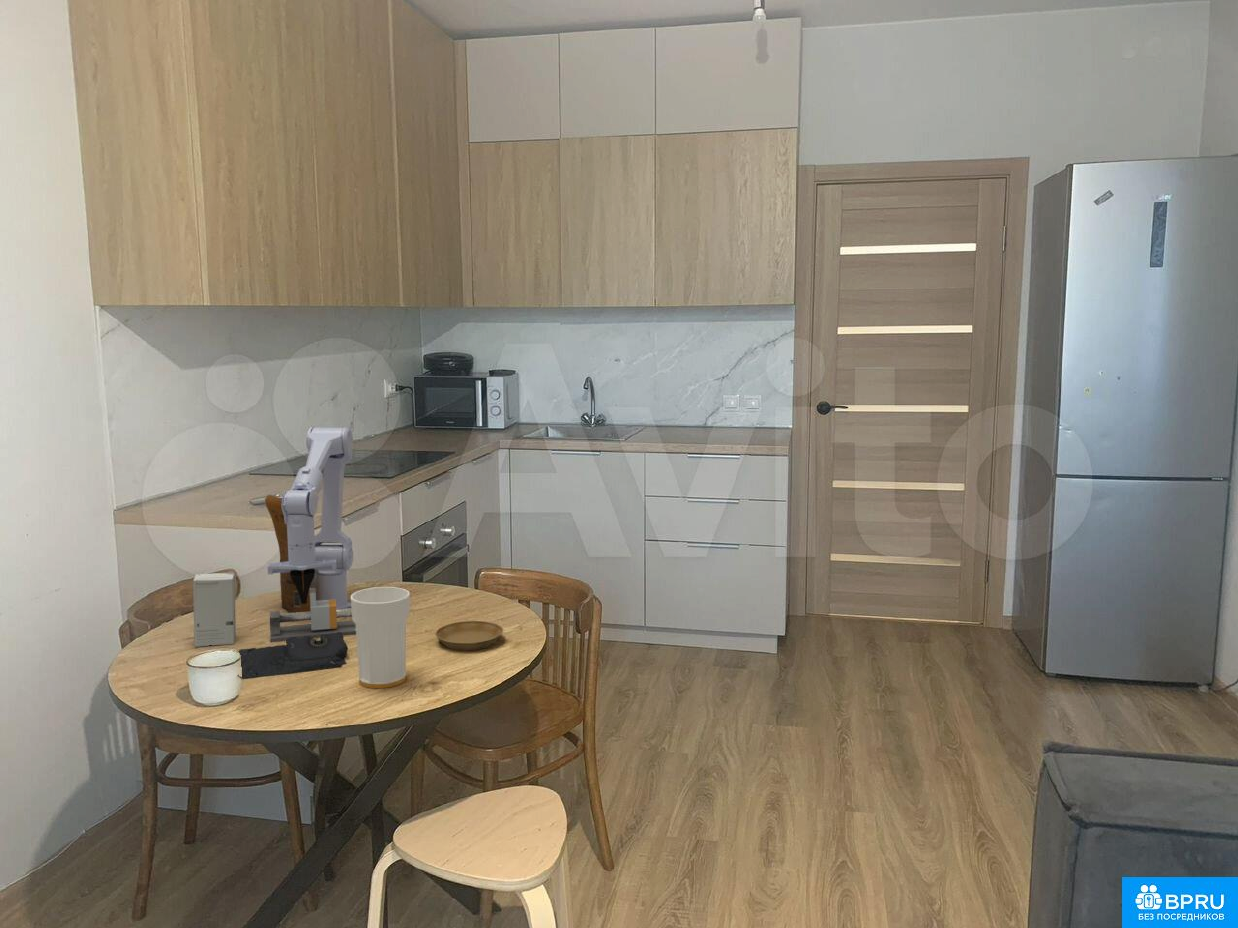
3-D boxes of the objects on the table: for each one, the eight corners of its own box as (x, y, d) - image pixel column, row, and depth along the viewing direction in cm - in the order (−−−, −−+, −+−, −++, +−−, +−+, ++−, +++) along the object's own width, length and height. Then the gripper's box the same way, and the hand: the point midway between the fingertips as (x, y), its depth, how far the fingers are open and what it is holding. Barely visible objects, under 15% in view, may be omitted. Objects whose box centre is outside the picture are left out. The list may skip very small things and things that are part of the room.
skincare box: (194, 647, 206) (190, 580, 204) (197, 638, 212) (193, 573, 209) (236, 644, 208) (232, 577, 206) (238, 635, 214) (234, 570, 212)
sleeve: (311, 630, 213) (309, 593, 212) (311, 623, 218) (309, 587, 217) (330, 628, 215) (328, 592, 213) (329, 621, 220) (328, 586, 218)
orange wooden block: (330, 628, 215) (329, 606, 214) (329, 621, 220) (328, 599, 219) (337, 628, 215) (336, 605, 214) (336, 621, 220) (335, 599, 219)
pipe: (270, 639, 211) (269, 617, 210) (271, 632, 216) (270, 611, 215) (391, 628, 219) (390, 607, 218) (389, 622, 224) (388, 601, 223)
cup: (388, 664, 197) (386, 583, 194) (423, 678, 190) (422, 593, 187) (341, 680, 188) (338, 595, 186) (376, 695, 181) (374, 606, 179)
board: (270, 642, 210) (270, 638, 210) (271, 630, 217) (271, 626, 217) (391, 631, 218) (391, 627, 218) (388, 620, 225) (388, 616, 225)
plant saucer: (472, 659, 202) (472, 647, 201) (421, 645, 209) (421, 634, 209) (516, 639, 214) (516, 628, 213) (466, 627, 222) (466, 616, 221)
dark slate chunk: (234, 657, 202) (233, 636, 201) (342, 644, 210) (341, 624, 209) (236, 683, 188) (234, 660, 187) (351, 668, 196) (350, 646, 195)
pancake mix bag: (294, 622, 223) (289, 504, 219) (268, 602, 238) (262, 492, 233) (322, 617, 227) (318, 501, 223) (294, 598, 242) (290, 489, 237)
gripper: (265, 549, 206) (268, 610, 209) (336, 545, 211) (338, 604, 213) (267, 542, 213) (270, 601, 215) (335, 538, 218) (337, 595, 220)
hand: (303, 602), depth 215 cm, fingers closed
